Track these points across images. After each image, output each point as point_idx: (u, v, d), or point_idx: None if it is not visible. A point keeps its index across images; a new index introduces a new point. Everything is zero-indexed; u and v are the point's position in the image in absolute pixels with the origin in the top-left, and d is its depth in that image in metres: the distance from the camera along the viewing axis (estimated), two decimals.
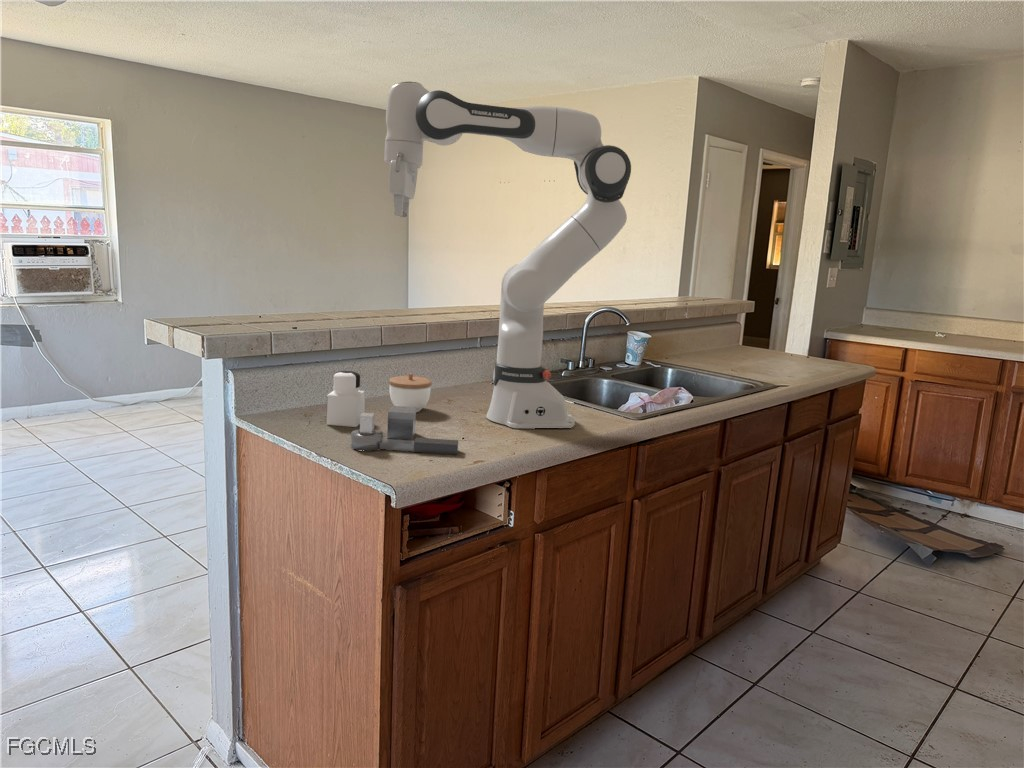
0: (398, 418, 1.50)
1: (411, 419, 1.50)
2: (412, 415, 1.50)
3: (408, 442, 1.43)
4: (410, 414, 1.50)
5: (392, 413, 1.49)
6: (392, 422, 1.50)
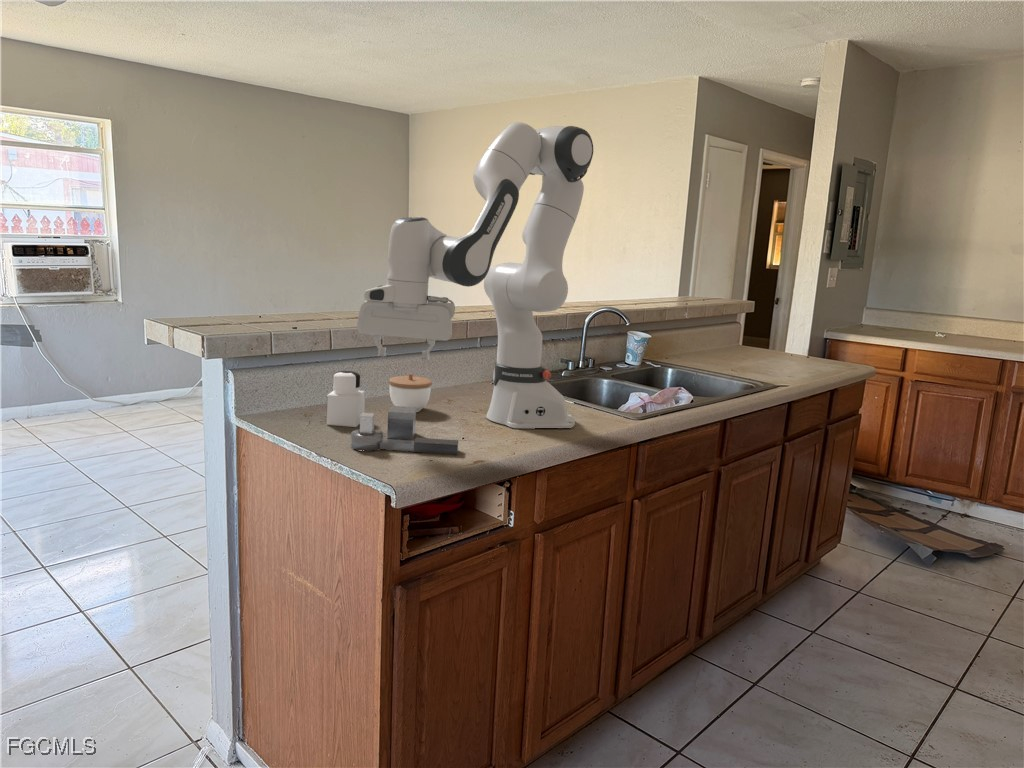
0: (398, 418, 1.50)
1: (411, 419, 1.50)
2: (412, 415, 1.50)
3: (408, 442, 1.43)
4: (410, 414, 1.50)
5: (392, 413, 1.49)
6: (392, 422, 1.50)
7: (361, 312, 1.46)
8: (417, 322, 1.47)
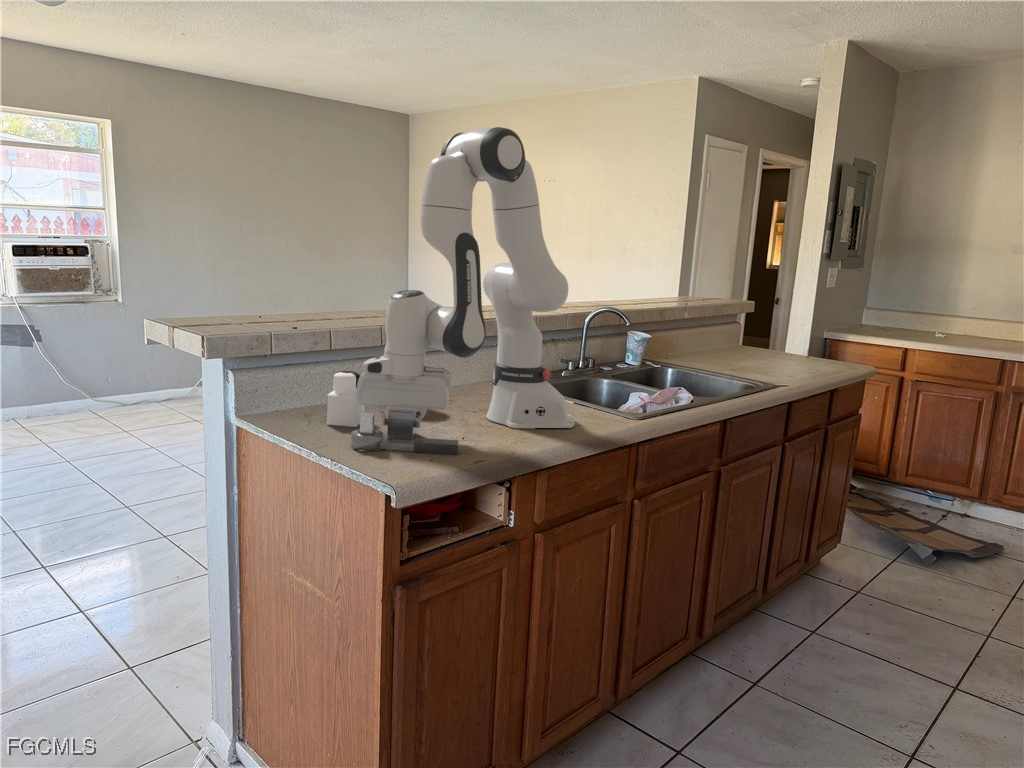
0: (398, 418, 1.50)
1: (411, 419, 1.50)
2: (412, 415, 1.50)
3: (408, 442, 1.43)
4: (410, 414, 1.50)
5: (392, 413, 1.49)
6: (392, 422, 1.50)
7: (359, 384, 1.48)
8: (414, 392, 1.50)
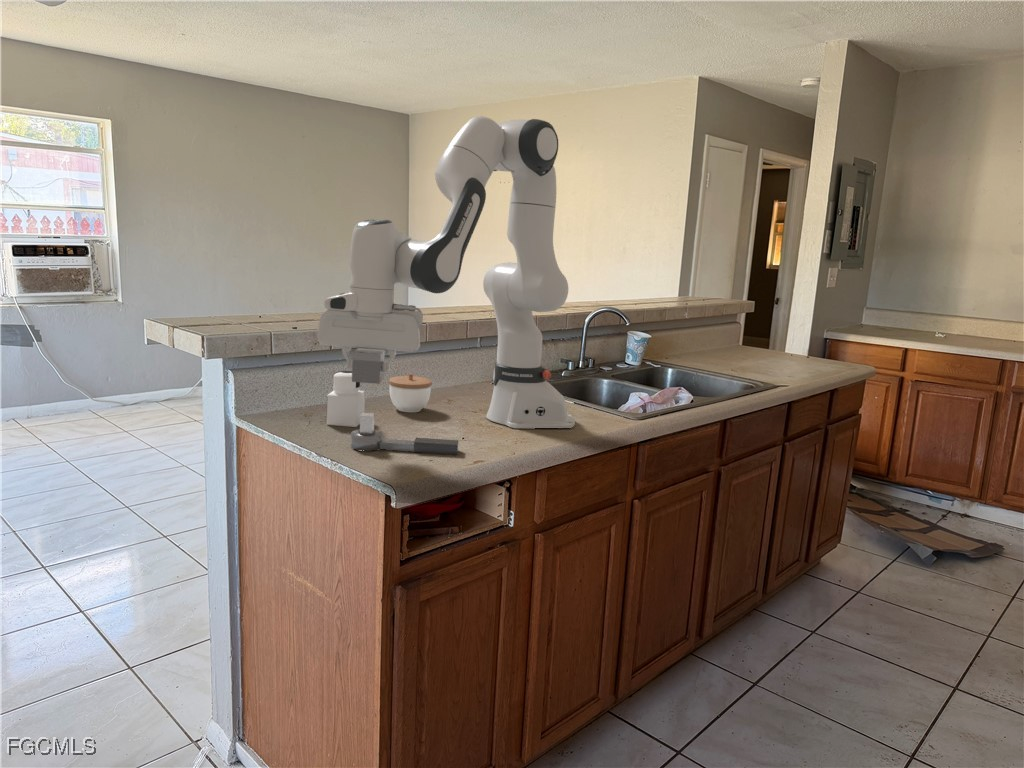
0: (364, 359, 1.37)
1: (378, 361, 1.37)
2: (379, 356, 1.37)
3: (408, 442, 1.43)
4: (377, 355, 1.37)
5: (357, 354, 1.37)
6: (357, 364, 1.37)
7: (322, 321, 1.36)
8: (382, 332, 1.37)
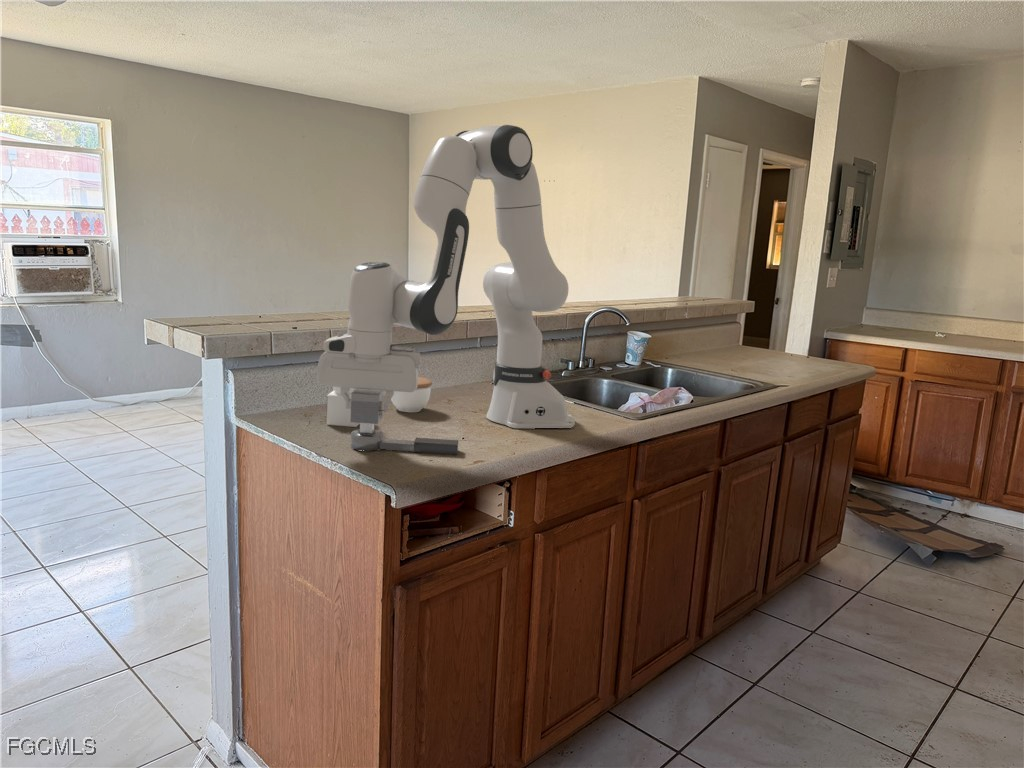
0: (362, 400, 1.38)
1: (376, 401, 1.39)
2: (377, 397, 1.38)
3: (408, 442, 1.43)
4: (375, 396, 1.38)
5: (356, 395, 1.38)
6: (356, 405, 1.39)
7: (320, 363, 1.37)
8: (380, 373, 1.38)
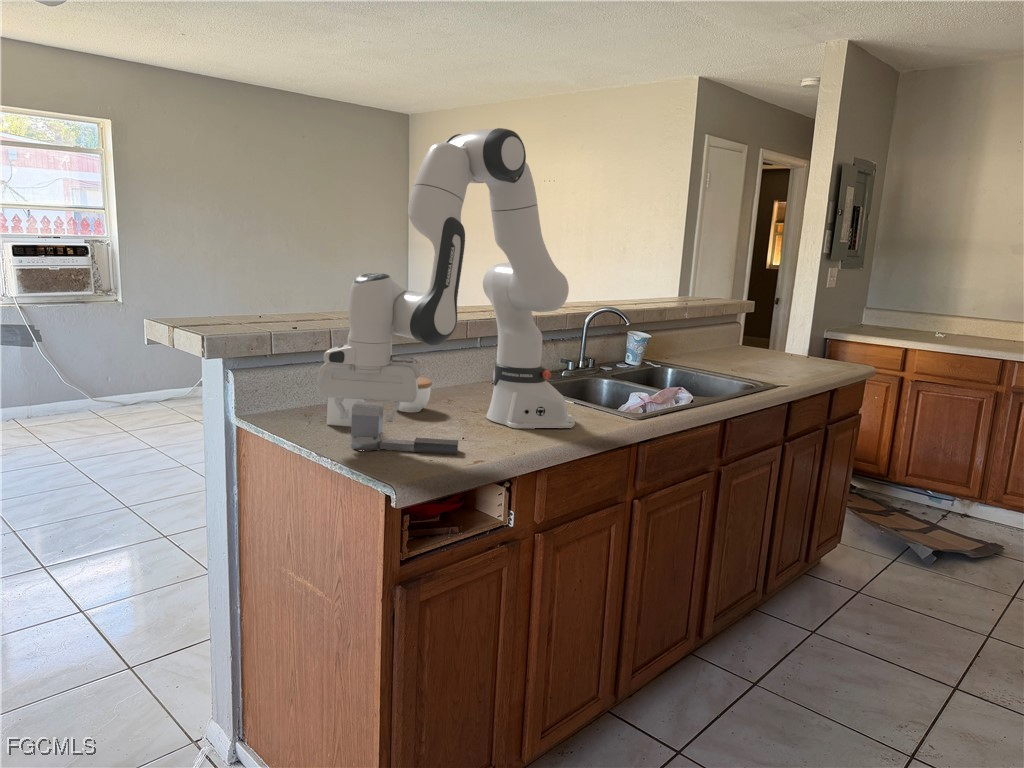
0: (363, 414, 1.39)
1: (377, 415, 1.39)
2: (378, 411, 1.39)
3: (408, 442, 1.43)
4: (375, 410, 1.39)
5: (356, 409, 1.39)
6: (356, 419, 1.39)
7: (321, 374, 1.38)
8: (380, 383, 1.39)
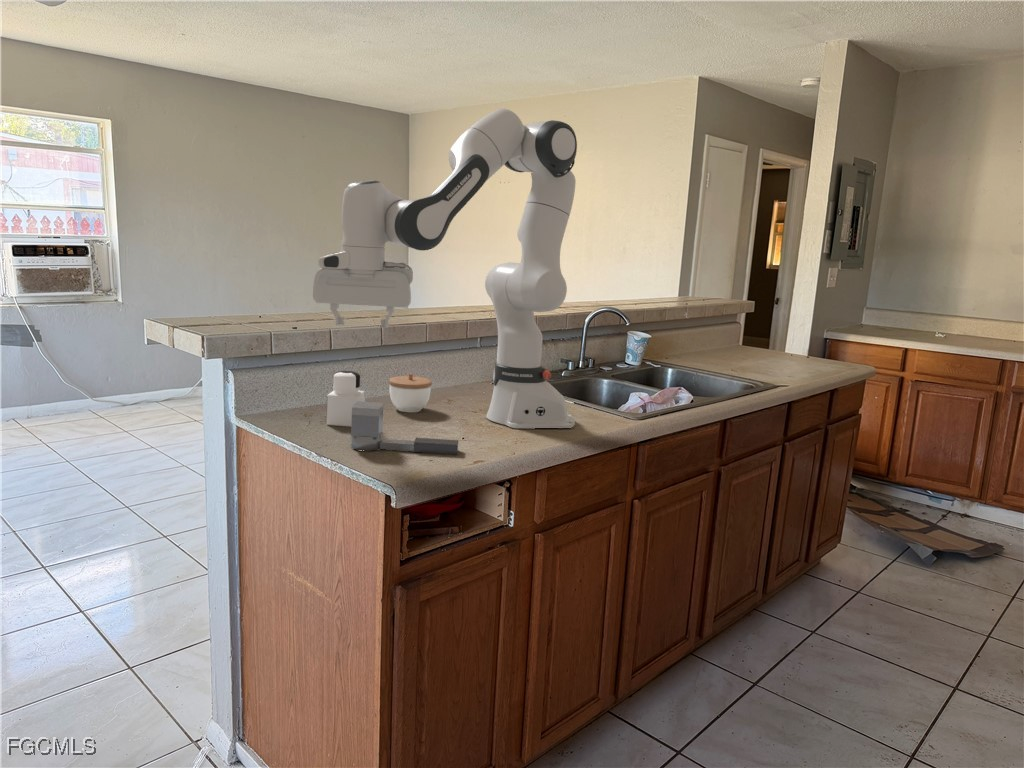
0: (363, 414, 1.39)
1: (377, 415, 1.39)
2: (378, 411, 1.39)
3: (408, 442, 1.43)
4: (375, 410, 1.39)
5: (356, 409, 1.39)
6: (356, 419, 1.39)
7: (316, 280, 1.42)
8: (374, 288, 1.43)
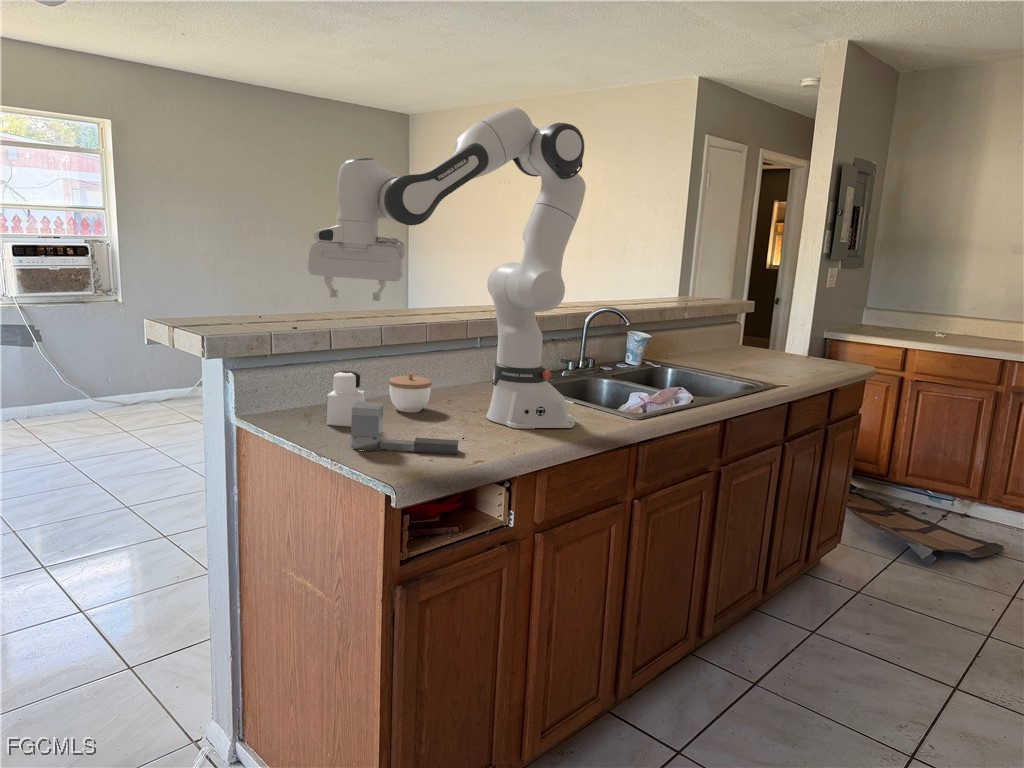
0: (363, 414, 1.39)
1: (377, 415, 1.39)
2: (378, 411, 1.39)
3: (408, 442, 1.43)
4: (375, 410, 1.39)
5: (356, 409, 1.39)
6: (356, 419, 1.39)
7: (311, 253, 1.47)
8: (367, 262, 1.49)
